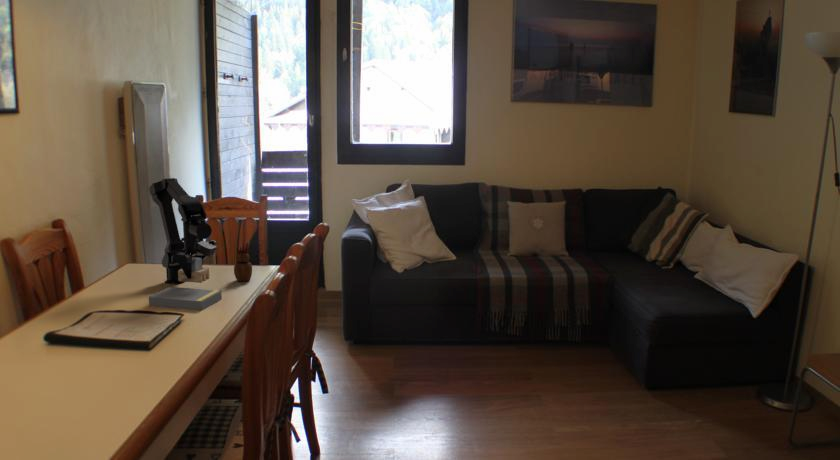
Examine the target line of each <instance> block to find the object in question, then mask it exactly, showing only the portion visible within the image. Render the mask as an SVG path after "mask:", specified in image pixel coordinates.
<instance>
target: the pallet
mask: <svg viewBox="0 0 840 460" xmlns="http://www.w3.org/2000/svg"><path fill="white" fill-rule="evenodd" d="M209 279H210V268H209V267H208V268H207V267H202V269H200V270H197V271H191V278H190V279H188V278H187V276H186V275H185V273H184V271H183V270H182V269H180V270H178V281H184V282H183V283H199V284H202V283H203V282H206V281H207V280H209Z"/></svg>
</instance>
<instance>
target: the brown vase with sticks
mask: <svg viewBox="0 0 840 460" xmlns="http://www.w3.org/2000/svg"><path fill="white" fill-rule="evenodd" d="M248 246H249V244H248V242H246V244H244V243H243V244H242V246H240V248H238V249H237V253H236V256H235V258H236V262H235V263H234V266H233V274H234V277H235V279H236V280H237V281H238V282H241V281H242V282H243V281H245V282H248V281H250V280H251V279H252V274H253V266H252V265H253V264H252V263H251V262H250V261H249V260H250V254H249V253H248V252H249V248H248Z"/></svg>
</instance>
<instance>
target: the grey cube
mask: <svg viewBox="0 0 840 460" xmlns="http://www.w3.org/2000/svg"><path fill="white" fill-rule="evenodd" d="M192 261H195V262H194V263H193V264H192V269H191V271H197V270H200V269H202V268H203V265H202V258H198V257H192Z"/></svg>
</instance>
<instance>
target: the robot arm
mask: <svg viewBox="0 0 840 460" xmlns="http://www.w3.org/2000/svg"><path fill="white" fill-rule="evenodd" d="M148 189H149V194H150V195H151V198H152V201H153V202H154V203H155V204H156V205H157V206H158V208H159V212H160V213H159V214H160V216H161V221H162V226H163V229H164V234H165V239H166V245H165V248H164V255H163V257H162V258H161V264H162V267H164V268H166V269H165V270H166V280H164V283H167V284H177V285H178V284H181V283H185V282H184V281H178V270H180V269H182V270H183V271H184V273H185V275H186V276H187V278H188V279H190V278H191V269H192V264H193V263H194V262H195V261H192V257H198V258H202V266H203V265H204V261H205V260H206V258H208V257H211V256H214V255H215V253H216V250H217V251H218V244H217V241H216V240H210V241H204V240H206V239H208V238H210V236H211V234H212V232H213V231H212V230H213V229H212V227H211V226H210V224H209V223H208V222H207V218H208V217H207V213H206V210H205V208H204V207H203V204H202V202H201V201H200V200H199V199H198V198H196V197H194V196H191V195H190V194H188V193H187V192H186V190H185V189H184V188H183V187H182V185H181V184H180V183H179V181H178V179H177V178H175V177H171V178H163V179H161V180H160V181H157V182H153V183H152V184H151V185H150V186H149V188H148ZM173 200H174V201H175V202H176V204H177V211H178V213H179V215H180V217H181V219H180V221H181V222H182V229H183V233H182V234H183V236H182V237H180V231H179V228H178V224H177V220H176V215H175V212H174V208H173Z"/></svg>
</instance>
